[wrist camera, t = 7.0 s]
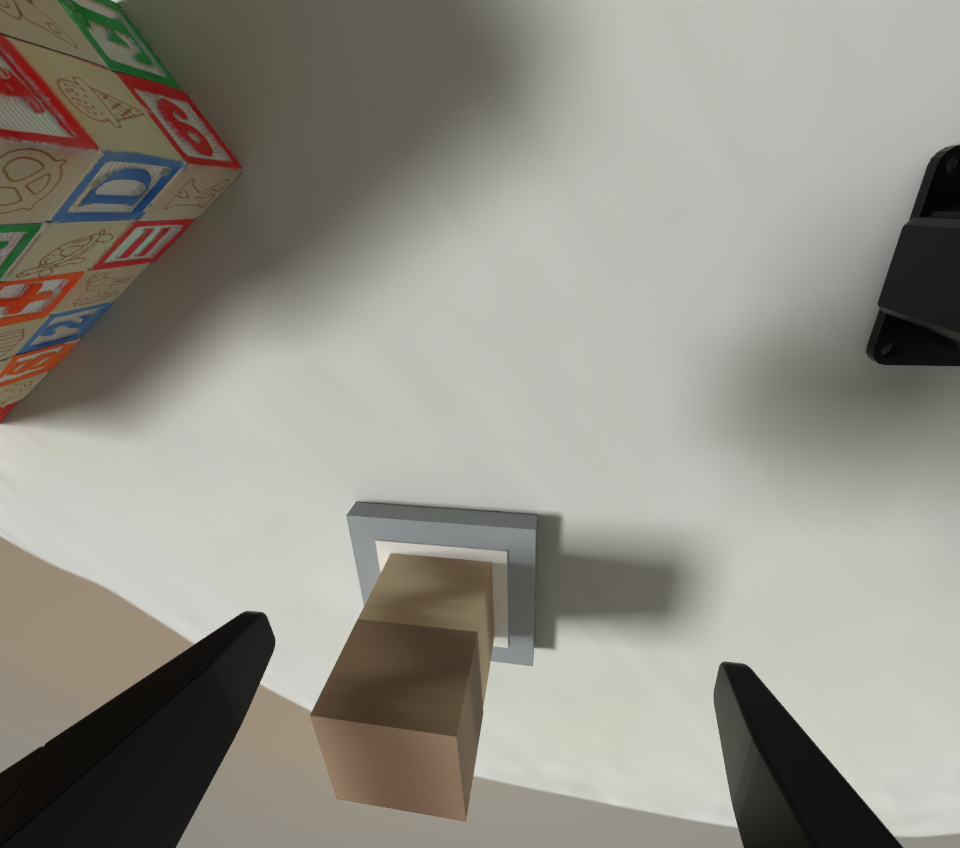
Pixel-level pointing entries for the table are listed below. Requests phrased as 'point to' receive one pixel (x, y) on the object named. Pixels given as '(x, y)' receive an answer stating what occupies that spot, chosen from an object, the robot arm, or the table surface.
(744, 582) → the table surface
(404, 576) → the oak block
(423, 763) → the walnut block
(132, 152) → the stack of blocks
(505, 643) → the grey flat square
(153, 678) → the robot arm
